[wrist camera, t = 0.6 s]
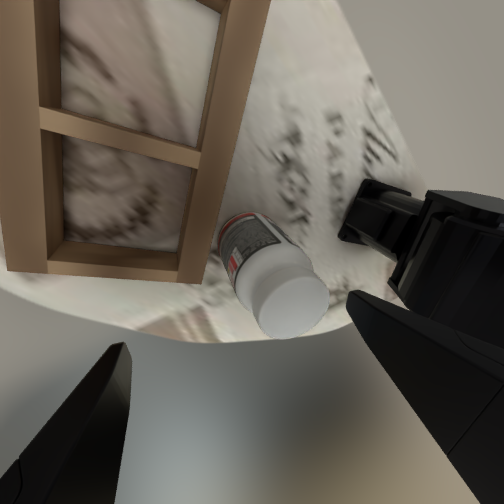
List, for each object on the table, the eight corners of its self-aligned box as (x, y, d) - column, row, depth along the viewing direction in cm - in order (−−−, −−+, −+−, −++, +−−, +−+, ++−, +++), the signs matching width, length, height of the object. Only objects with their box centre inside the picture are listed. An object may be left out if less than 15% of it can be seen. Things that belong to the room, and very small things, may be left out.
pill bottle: (213, 266, 23) (240, 351, 14) (220, 207, 20) (258, 270, 12) (268, 265, 25) (321, 340, 16) (281, 212, 22) (350, 268, 14)
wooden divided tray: (255, 9, 15) (274, -13, 12) (197, 265, 22) (201, 284, 19) (-2, -139, 10) (-57, -224, 8) (30, 248, 17) (7, 271, 15)
